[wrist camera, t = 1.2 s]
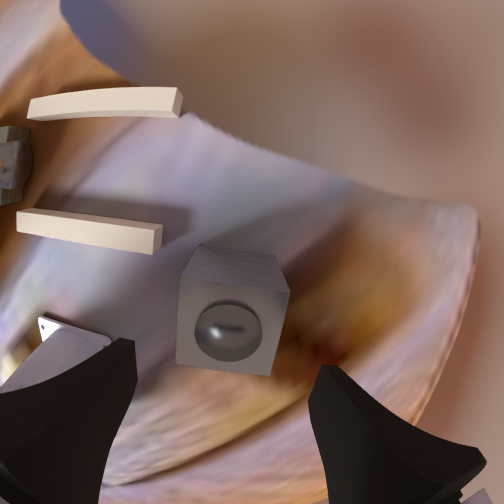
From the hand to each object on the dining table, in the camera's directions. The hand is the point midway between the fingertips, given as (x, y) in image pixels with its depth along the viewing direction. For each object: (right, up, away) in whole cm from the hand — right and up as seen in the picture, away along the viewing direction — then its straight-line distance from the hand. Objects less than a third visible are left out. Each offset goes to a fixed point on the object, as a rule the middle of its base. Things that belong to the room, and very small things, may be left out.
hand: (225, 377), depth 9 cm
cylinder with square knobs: (-20, +12, +5) cm, 24 cm away
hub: (0, +2, +9) cm, 9 cm away
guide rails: (-10, +11, +6) cm, 16 cm away
